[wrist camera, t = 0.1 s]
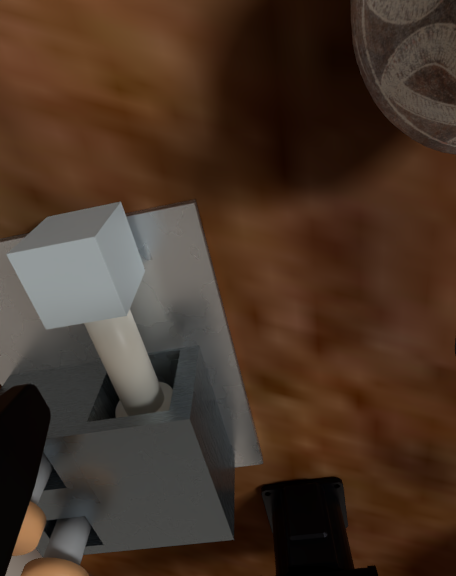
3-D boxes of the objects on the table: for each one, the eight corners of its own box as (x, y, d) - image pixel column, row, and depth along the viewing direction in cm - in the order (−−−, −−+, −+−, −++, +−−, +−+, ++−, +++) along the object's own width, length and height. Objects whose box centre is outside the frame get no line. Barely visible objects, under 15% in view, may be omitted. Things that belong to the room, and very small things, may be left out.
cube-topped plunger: (210, 454, 31) (206, 513, 27) (157, 461, 31) (146, 519, 27) (120, 201, 21) (94, 236, 17) (47, 216, 21) (6, 254, 18)
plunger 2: (113, 531, 28) (94, 607, 24) (61, 537, 28) (33, 612, 25) (92, 497, 26) (68, 574, 22) (36, 503, 27) (3, 580, 23)
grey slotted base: (262, 456, 32) (268, 545, 27) (70, 480, 34) (36, 567, 29) (195, 199, 22) (180, 253, 16) (-74, 253, 24) (-171, 319, 18)
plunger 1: (79, 475, 25) (51, 552, 21) (21, 482, 26) (-17, 558, 22) (53, 432, 23) (16, 508, 19) (-10, 440, 24) (-57, 516, 20)
